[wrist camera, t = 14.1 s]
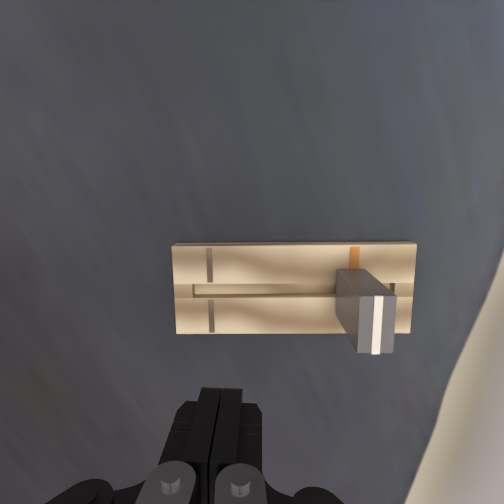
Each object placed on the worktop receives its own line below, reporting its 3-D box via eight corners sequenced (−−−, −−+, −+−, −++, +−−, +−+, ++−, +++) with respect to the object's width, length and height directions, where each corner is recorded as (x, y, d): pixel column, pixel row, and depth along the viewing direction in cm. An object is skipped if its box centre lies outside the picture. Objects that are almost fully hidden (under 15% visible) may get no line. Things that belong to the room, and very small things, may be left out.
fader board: (175, 243, 41) (171, 246, 39) (409, 241, 40) (417, 244, 38) (180, 326, 43) (176, 334, 41) (402, 325, 42) (410, 333, 40)
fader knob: (333, 265, 40) (360, 296, 30) (361, 265, 40) (397, 296, 30) (332, 309, 41) (357, 354, 31) (359, 309, 41) (393, 354, 31)
